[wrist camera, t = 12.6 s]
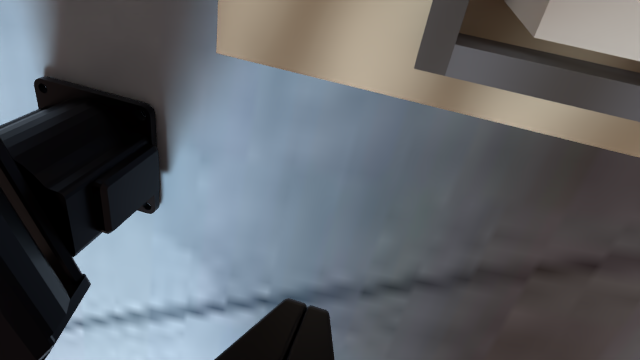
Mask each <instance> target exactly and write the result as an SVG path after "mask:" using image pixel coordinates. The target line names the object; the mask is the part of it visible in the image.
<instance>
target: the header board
mask: <svg viewBox="0 0 640 360" xmlns="http://www.w3.org/2000/svg"><path fill="white" fill-rule="evenodd" d="M216 53H218V54H222V55H226V56H230V57H234V58H238V59H243V60H247V61H251V62H255V63H259V64H263V65H267V66H271V67H275V68H279V69H283V70H287V71H291V72H295V73H299V74H303V75H307V76H311V77H315V78H320V79H324V80H328V81H332V82H336V83H340V84H344V85H348V86H352V87H356V88H360V89H364V90H368V91H372V92H376V93H380V94H384V95H388V96H393V97H397V98H401V99H405V100H409V101H413V102H417V103H421V104H425V105H429V106H433V107H437V108H441V109H445V110H449V111H453V112H457V113H461V114H465V115H470V116H474V117H478V118H482V119H486V120H490V121H494V122H498V123H502V124H506V125H510V126H514V127H518V128H522V129H526V130H530V131H534V132H538V133H542V134H547V135H551V136H555V137H559V138H563V139H567V140H571V141H575V142H579V143H583V144H587V145H591V146H595V147H599V148H603V149H607V150H611V151H615V152H620V153H624V154H628V155H632V156H636V157H640V61H636V60H632V59H627V58H623V57H618V56H614V55H609V54H605V53H600V52H596V51H591V50H587V49H583V48H578V47H574V46H569V45H565V44H560V43H556V42H551V41H547V40H542V39H538V38H534V37H533V36H532V35H531V33H530V32H529V31H528V30H527V28H526V27H525V26H524V25H523V23H522V22H521V21H520V20H519V19H518V17H517V16H516V15H515V14H514V12H513V11H512V10H511V9H510V7H509V6H508V5H507V4H506V2H505V1H504V0H218V20H217V49H216Z"/></svg>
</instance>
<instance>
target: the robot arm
mask: <svg viewBox="0 0 640 360" xmlns="http://www.w3.org/2000/svg"><path fill="white" fill-rule="evenodd" d="M45 86H46V87H47V88H46V87H45ZM34 87H35V92H36V97H37V102H38V107H39V109H38V110H36V111H33V112H31V113H29V114H26V115H24V116H22V117H19V118H17V119H15V120H12V121H10V122H8V123H5V124H3V125H1V126H0V360H45V358H46V357H47V355H48V354H49V353H50V351H51V349H52V348H53V346H54V344H55V343H56V341H57V339H58V338H59V336H60V335H61V333H62V331H63V330H64V328H65V326H66V325H67V323H68V321H69V320H70V318H71V316H72V315H73V313H74V311H75V310H76V308H77V307H78V305H79V303H80V302H81V300H82V298H83V297H84V295H85V293H86V292H87V290H88V288H89V287H90V285H91V283H90V282H89V280H88V278H87V277H86V275H85V274H82V273H81V271H80V269H79V268H78V266H77V264H76V263H75V261H74V259H73V258H72V257H74V256H76V255H77V254H78V253H79V252H80V251H81V250H83V249H84V248H85V247H86V246H87V245H88V244H89V243H91V242H92V241H93V240H94V239H95V238H96V237H98V236H99V235H100V234H101V233H102V232H103V233H107V234H109V233H111V232H112V231H114V230H115V229H116V228H117V227H118V226H120V225H121V224H122V223H123V222H124V221H125V220H126V219H127V218H129V217H130V216H131V215H132V214H133V213H134V212H135V211H136V210H138V211H141V212H145V213H149V214H151V213H154V212H155V211H156V210H157V209H158V208H159V190H160V181H159V158H158V150H157V143H156V121H155V112H154V110H153V108H152V107H151V106H150V105H149V104H146V103H143V102H140V101H136V100H132V99H129V98H125V97H121V96H117V95H114V94H110V93H106V92H103V91H99V90H95V89H91V88H88V87H84V86H80V85H77V84H73V83H69V82H66V81H62V80H58V79H54V78H51V77H46V76H44V77H41V78H38V79H36V80H35V82H34ZM141 111H143V112H144V113H145V115H146V117H145V116H144V115H143V114H142V112H141ZM148 203H149V204H150V205H151V206H150V205H149V204H148ZM215 360H334V352H333V343H332V334H331V326H330V317H329V313H328V311H327V310H324V309H321V308H318V307H315V306H311V305H310V306H308V307H307V306H306V304H305V303H302V302H299V301H296V300H293V299H289V298H288V299H285V300H283V301H282V302H281V303H280V304H279V305H278V306H276V307H275V308H274V309H273V310H272V311H271V312H269V313H268V314H267V315H266V316H265V317H264V318H262V319H261V320H260V321H259V322H258V323H257V324H255V325H254V326H253V327H252V328H251V329H250V330H248V331H247V332H246V333H245V334H244V335H243V336H241V337H240V338H239V339H238V340H237V341H236V342H234V343H233V344H232V345H231V346H230V347H229V348H227V349H226V350H225V351H224V352H223V353H222V354H220V355H219V356H218V357H217V358H216V359H215Z"/></svg>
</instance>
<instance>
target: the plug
mask: <svg viewBox="0 0 640 360" xmlns="http://www.w3.org/2000/svg"><path fill="white" fill-rule="evenodd" d="M504 1H505V2H506V4H507V5H508V6H509V7H510V9H511V10H512V11H513V12H514V14H515V15H516V16H517V17H518V19H519V20H520V21H521V22H522V23H523V25H524V26H525V27H526V28H527V30H528V31H529V32H530V33H531V35H532V36H533V37H534V38H538V39H542V40H547V41H551V42H556V43H560V44H565V45H569V46H574V47H578V48H583V49H587V50H591V51H596V52H600V53H605V54H609V55H614V56H618V57H623V58H627V59H632V60H636V61H640V0H504Z"/></svg>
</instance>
